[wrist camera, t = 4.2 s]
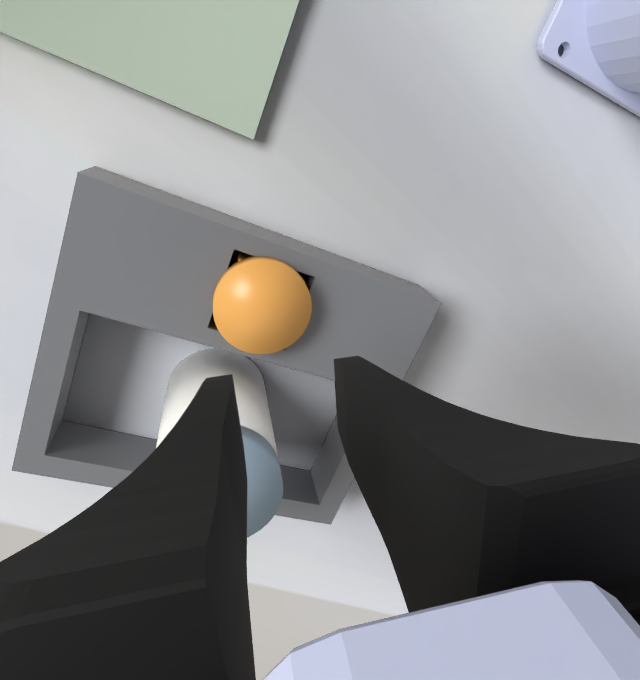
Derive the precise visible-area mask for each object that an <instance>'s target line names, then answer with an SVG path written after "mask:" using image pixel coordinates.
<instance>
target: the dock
mask: <svg viewBox="0 0 640 680" xmlns="http://www.w3.org/2000/svg"><path fill="white" fill-rule="evenodd" d="M234 249H235V250H238V251H241V252H244V253H247V254H250V255H253V256H270V257H274V258H278V259H280V260H282V261H284V262H286V263H288V264H289V265H291V266H292V267H293V268H294V269H295V270H296V271H299V272H300V274H301V275H302V277H303V279H304V281H305V284H306V286H307V288H308V290H309V293H310V296H311V302H312V312H311V317H310V321H309V324H308V326H307V328H306V330H305V331H304V333H303V334H302V335H301V336H300V338H299V339H298V340H297V341H295V342H294V343H293V344H292V345H290V346H289V347H287V348H285V349H283V350H281V351H278V352H275V353H270V354H252V353H247V352H244V351H241V350H239V349H237V348H235V347H234V346H232V345H231V344H230V343H229V342H227V341H226V340H225V339H224V337H223V336H222V335H221V334H220V332H219V331H218V328H217V326H216V324H215V321H214V316H213V294H214V290H215V287H216V284H217V282H218V280H219V279H220V277H221V276H222V274H223V273H224V272H225V271H226V270H227V269H228V266H229V263H230V260H231V257H232V254H233V251H234ZM440 305H441V302H440V301H438V300H437V299H436V298H434V297H433V296H432V295H431V294H429V293H428V292H427V291H426V290H424V289H423V288H422V287H420V286H419V285H417V284H415V283H412V282H409V281H406V280H404V279H401V278H398V277H395V276H393V275H390V274H387V273H385V272H382V271H379V270H376V269H374V268H371V267H368V266H366V265H363V264H360V263H357V262H355V261H352V260H349V259H346V258H344V257H341V256H338V255H336V254H333V253H330V252H327V251H325V250H322V249H319V248H317V247H314V246H311V245H308V244H306V243H303V242H300V241H297V240H295V239H292V238H289V237H287V236H284V235H281V234H278V233H276V232H273V231H270V230H268V229H265V228H262V227H259V226H257V225H254V224H251V223H248V222H246V221H243V220H240V219H238V218H235V217H232V216H229V215H227V214H224V213H221V212H218V211H216V210H213V209H210V208H208V207H205V206H202V205H199V204H197V203H194V202H191V201H189V200H186V199H183V198H180V197H178V196H175V195H172V194H169V193H167V192H164V191H161V190H159V189H156V188H153V187H150V186H148V185H145V184H142V183H140V182H137V181H134V180H131V179H129V178H126V177H123V176H120V175H118V174H115V173H112V172H110V171H107V170H104V169H101V168H99V167H96V166H94V167H92V168H89V169H86V170H83V171H80V172H78V174H77V178H76V183H75V187H74V192H73V196H72V201H71V205H70V210H69V214H68V219H67V223H66V228H65V232H64V237H63V241H62V246H61V250H60V255H59V259H58V264H57V268H56V273H55V277H54V282H53V287H52V291H51V296H50V300H49V305H48V309H47V314H46V318H45V323H44V327H43V332H42V336H41V341H40V345H39V350H38V354H37V359H36V363H35V368H34V372H33V377H32V381H31V386H30V390H29V395H28V399H27V404H26V408H25V413H24V417H23V422H22V426H21V431H20V435H19V440H18V444H17V449H16V453H15V458H14V462H13V467H12V471H18V472H23V473H29V474H35V475H41V476H47V477H53V478H59V479H65V480H71V481H77V482H83V483H89V484H94V485H100V486H106V487H112V488H114V487H115V486H117V485H118V484H119V483H120V482H121V481H123V480H124V479H125V478H126V477H128V476H129V475H130V474H131V473H132V472H133V471H134V470H135V469H136V468H137V467H138V466H139V465H140V464H141V463H142V462H143V461H145V460H146V459H147V458H148V457H149V456H150V455H151V453H152V452H153V451H154V450H155V449H156V445H157V440H154V439H149V438H145V437H140V436H135V435H130V434H125V433H120V432H115V431H110V430H105V429H101V428H96V427H91V426H86V425H81V424H76V423H71V422H66V421H62V419H63V415H64V411H65V407H66V403H67V399H68V395H69V391H70V387H71V383H72V379H73V375H74V371H75V367H76V363H77V360H78V356H79V352H80V348H81V344H82V340H83V336H84V332H85V328H86V324H87V320H88V316H89V313H91V314H95V315H98V316H102V317H105V318H109V319H113V320H116V321H120V322H124V323H127V324H131V325H135V326H138V327H142V328H146V329H149V330H153V331H156V332H160V333H164V334H167V335H171V336H175V337H178V338H182V339H186V340H189V341H193V342H196V343H200V344H204V345H207V346H211V347H215V348H218V349H222V350H226V351H229V352H233V353H236V354H240V355H244V356H247V357H251V358H255V359H258V360H262V361H266V362H269V363H273V364H277V365H280V366H284V367H287V368H291V369H295V370H298V371H302V372H306V373H309V374H313V375H317V376H320V377H324V378H327V379H331V380H335V373H334V359H338V358H345V357H351V356H360V357H362V358H364V359H366V360H368V361H369V362H371V363H373V364H375V365H376V366H378V367H380V368H382V369H383V370H385V371H387V372H388V373H390V374H392V375H394V376H395V377H397V378H399V379H401V380H403V379H404V377H405V375H406V373H407V371H408V369H409V367H410V365H411V363H412V361H413V359H414V357H415V355H416V353H417V351H418V349H419V347H420V345H421V343H422V341H423V339H424V337H425V335H426V333H427V331H428V329H429V327H430V325H431V323H432V321H433V319H434V317H435V315H436V313H437V311H438V309H439V307H440ZM280 470H281V475H282V480H283V496H282V501H281V504H280V506H279V508H278V510H277V512H276V514H275V515H278V516H284V517H290V518H296V519H302V520H307V521H313V522H319V523H325V524H331V523H332V521H333V519H334V517H335V515H336V513H337V511H338V509H339V507H340V505H341V503H342V501H343V499H344V497H345V495H346V493H347V491H348V489H349V487H350V485H351V483H352V481H353V479H354V475H353V472H352V470H351V468H350V466H349V464H348V461H347V458H346V455H345V452H344V448H343V445H342V442H341V438H340V435H339V432H338V425H337V415H336V417H335V419H334V421H333V424H332V426H331V428H330V430H329V432H328V434H327V437H326V439H325V441H324V443H323V445H322V447H321V450H320V452H319V454H318V456H317V458H316V460H315V463H314V465H313V467H312V469H311V471H306V470H301V469H296V468H291V467H286V466H281V465H280Z"/></svg>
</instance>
